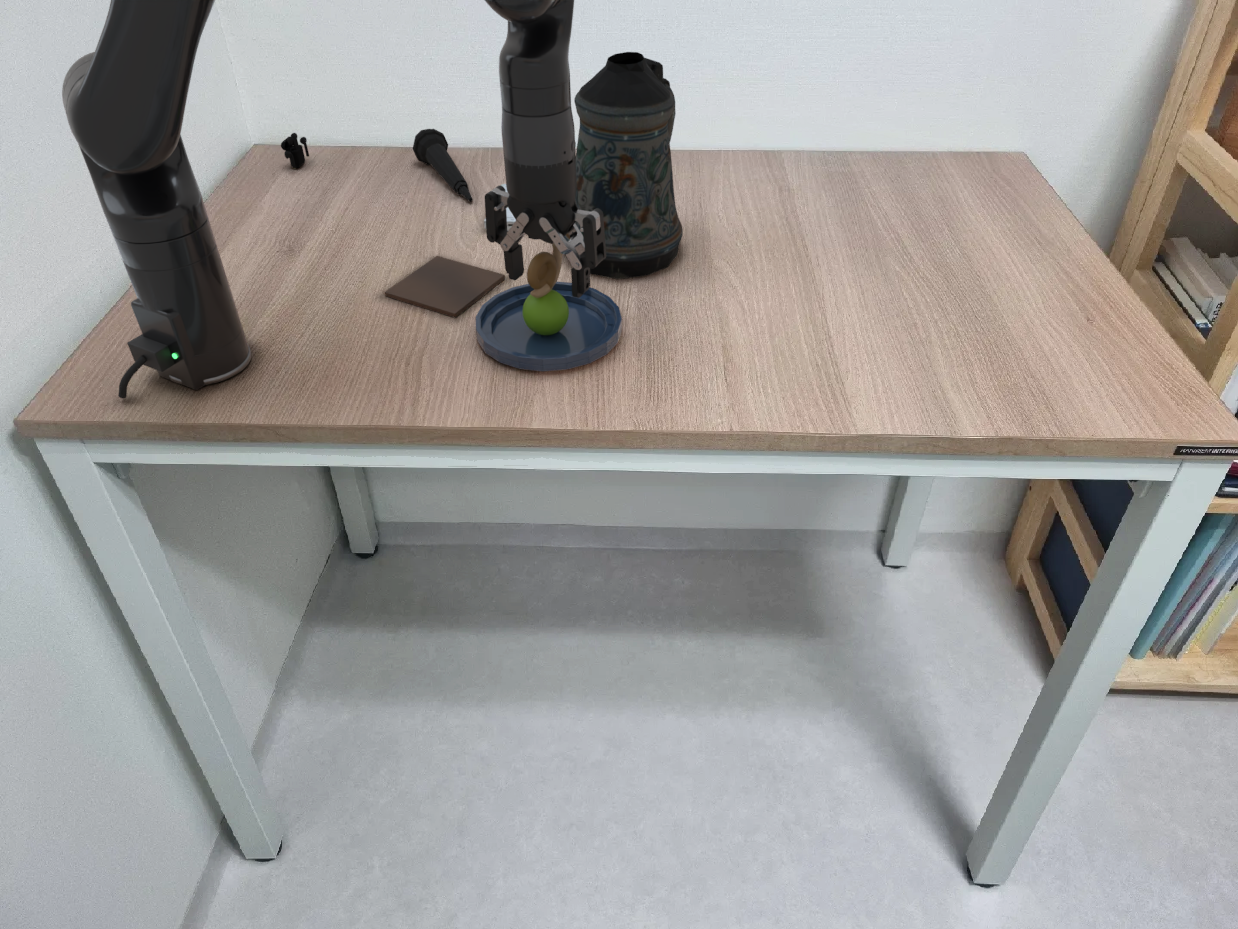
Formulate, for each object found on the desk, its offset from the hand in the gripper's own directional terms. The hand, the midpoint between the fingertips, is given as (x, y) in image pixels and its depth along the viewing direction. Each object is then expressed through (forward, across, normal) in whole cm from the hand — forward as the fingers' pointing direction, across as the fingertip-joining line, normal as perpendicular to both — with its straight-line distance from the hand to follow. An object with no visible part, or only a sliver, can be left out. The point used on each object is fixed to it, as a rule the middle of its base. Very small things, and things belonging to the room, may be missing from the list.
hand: (547, 285), depth 106 cm
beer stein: (+7, -3, +24) cm, 25 cm away
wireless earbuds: (+6, -62, +23) cm, 66 cm away
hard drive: (+7, -21, +26) cm, 34 cm away
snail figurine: (+6, 0, 0) cm, 6 cm away
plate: (+6, 0, 0) cm, 6 cm away
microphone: (+7, -38, +30) cm, 49 cm away
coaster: (+6, -17, +3) cm, 19 cm away
